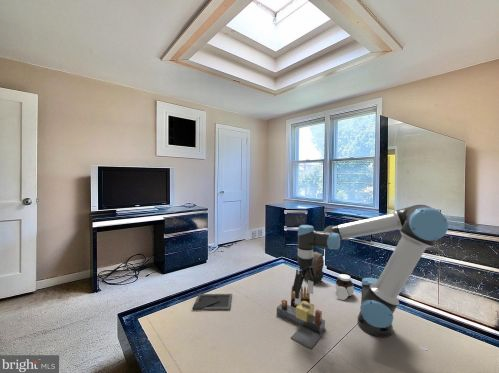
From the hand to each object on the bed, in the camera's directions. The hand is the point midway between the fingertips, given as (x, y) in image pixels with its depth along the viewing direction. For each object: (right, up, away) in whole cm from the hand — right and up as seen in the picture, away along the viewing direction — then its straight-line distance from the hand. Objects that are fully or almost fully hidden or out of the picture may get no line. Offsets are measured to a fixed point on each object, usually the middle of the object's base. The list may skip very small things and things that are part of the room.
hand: (304, 298), depth 113 cm
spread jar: (+31, -12, +27) cm, 43 cm away
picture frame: (-49, -13, +20) cm, 54 cm away
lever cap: (0, -9, 0) cm, 9 cm away
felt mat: (-2, -13, -10) cm, 16 cm away
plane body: (-2, -13, +2) cm, 13 cm away
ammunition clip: (+1, -13, +15) cm, 20 cm away
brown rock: (+17, -11, +48) cm, 52 cm away
